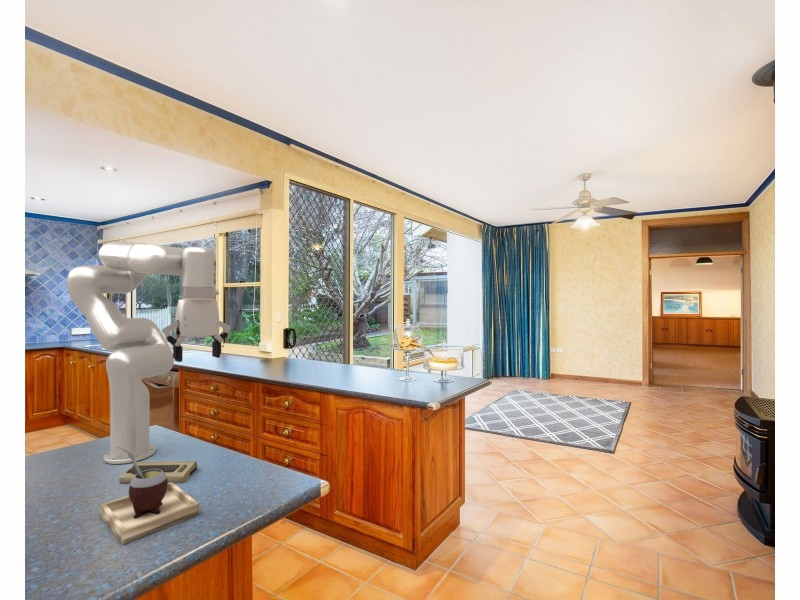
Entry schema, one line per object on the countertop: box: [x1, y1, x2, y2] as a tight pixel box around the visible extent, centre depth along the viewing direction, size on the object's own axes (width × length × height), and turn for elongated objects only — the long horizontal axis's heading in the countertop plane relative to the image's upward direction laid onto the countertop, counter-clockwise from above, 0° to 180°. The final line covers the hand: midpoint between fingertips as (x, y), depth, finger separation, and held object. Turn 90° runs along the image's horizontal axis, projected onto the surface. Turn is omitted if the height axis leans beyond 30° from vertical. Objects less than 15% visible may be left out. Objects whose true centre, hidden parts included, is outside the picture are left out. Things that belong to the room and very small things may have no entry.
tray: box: [100, 482, 200, 546], centre depth 86 cm, size 15×14×2 cm
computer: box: [119, 460, 199, 485], centre depth 104 cm, size 16×8×3 cm, turn 93°
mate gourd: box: [117, 446, 168, 519], centre depth 86 cm, size 8×8×15 cm
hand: (197, 359), depth 106 cm, fingers open, 9 cm apart
